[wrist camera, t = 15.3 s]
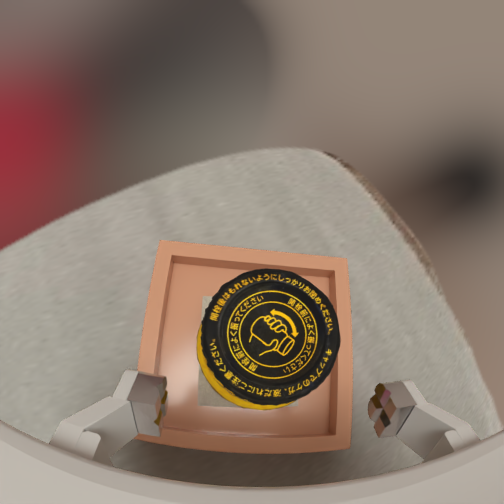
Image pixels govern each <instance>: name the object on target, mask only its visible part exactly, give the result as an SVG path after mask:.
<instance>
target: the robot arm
mask: <svg viewBox="0 0 504 504" xmlns="http://www.w3.org/2000/svg"><path fill="white" fill-rule="evenodd" d="M166 386H167V378H166V376H162V375H157V374H151V373H146V372H141V371H135V370H131V369H127V370H125V371H124V373H123V375H122V378H121V380H120V382H119V384H118V386H117V388H116V390H115V392H114V394H113V396H112V397H110V396H108V397H106V398H104V399H102V400H100V401H99V402H97V403H95V404H93V405H91V406H89V407H87V408H85V409H83V410H82V411H80V412H78V413H76V414H74V415H72V416H70V417H68V418H66V419H64V420H62V421H61V423H60V424H59V426H58V428H57V430H56V431H55V433H54V435H53V437H52V439H51V441H50V442H49V444H48V443H45V442H43V441H41V440H39V439H37V438H34V437H32V436H30V435H28V434H26V433H24V432H22V431H20V430H18V429H16V428H14V427H12V426H11V425H9V424H7V423H5V422H3V421H1V420H0V504H504V430H502V431H500V432H498V433H496V434H494V435H492V436H490V437H488V438H486V439H483V440H480V439H479V438H478V436H477V435H476V433H475V432H474V430H473V429H472V427H471V426H470V424H469V423H467V422H465V421H463V420H461V419H459V418H457V417H455V416H454V415H452V414H450V413H448V412H446V411H444V410H442V409H441V408H439V407H437V406H435V405H433V404H431V403H427V402H426V400H425V399H424V397H423V396H422V394H421V393H420V392H419V390H418V389H417V387H416V386H415V384H414V383H413V381H411V380H410V379H409V380H402V381H395V382H386V383H379V384H378V385H377V386H376V388H375V393H376V394H375V395H374V396H373V397H372V398H371V399H370V401H369V404H368V415H369V417H370V419H371V420H372V421H374V422H375V425H374V429H375V431H376V433H377V435H378V437H379V438H383V437H390V436H396V437H397V438H399V439H400V440H401V441H402V442H403V443H405V444H406V445H407V446H408V447H409V448H411V449H412V450H413V451H414V452H416V453H417V454H418V455H419V456H421V457H422V458H423V459H424V460H423V461H422V463H421V464H418V465H414V466H411V467H407V468H403V469H400V470H396V471H392V472H388V473H383V474H379V475H374V476H369V477H364V478H359V479H353V480H347V481H340V482H333V483H325V484H315V485H304V486H287V487H237V486H220V485H208V484H199V483H191V482H183V481H177V480H170V479H165V478H159V477H154V476H149V475H144V474H140V473H136V472H131V471H127V470H123V469H120V468H116V467H114V466H113V464H112V462H111V460H110V457H111V456H112V455H114V454H115V453H116V452H117V451H119V450H120V449H121V448H122V447H123V446H125V445H126V444H127V443H128V442H129V441H131V440H132V439H133V438H134V437H136V436H137V435H138V433H140V434H146V435H151V436H157V437H161V433H162V429H163V425H164V422H163V417H164V416H166V413H167V408H168V392H167V391H166Z"/></svg>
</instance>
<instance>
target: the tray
mask: <svg viewBox="0 0 504 504" xmlns="http://www.w3.org/2000/svg"><path fill="white" fill-rule="evenodd" d="M265 268H268V269H281V270H286V271H291V272H294V273H296V274H298V275H299V276H301V277H303V278H304V279H306V280H308V281H309V282H311V283H312V284H313V285H314V286H316V287H317V288H318V289H319V290H321V291H322V292H323V293H324V294H325V295H326V296H327V297H328V299H329V300H330V302H331V303H332V305H333V307H334V309H335V312H336V314H337V317H338V322H339V331H340V337H341V343H340V348H339V351H338V355H337V358H336V361H335V363H334V366H333V368H332V370H331V372H330V374H329V376H328V377H327V378H326V379H325V380H324V382H323V383H322V384H321V385H320V386H319V387H318V388H317V389H315V390H313V391H311V392H310V393H309V394H308V395H307V396H304V397H302V398H300V399H298V406H293V407H281V408H277V409H272V410H265V411H263V410H255V409H249V408H242V407H214V406H198V378H199V362H198V360H197V349H196V347H197V338H196V337H197V334H198V330H199V327H200V325H201V315H202V299H203V296H212V297H213V296H214V295H215V294H216V293H217V292H218V291H219V289H220V287H221V286H222V285H223V284H225V283H226V282H229V281H230V280H232V279H234V278H235V277H237V276H238V275H240V274H242V273H244V272H248V271H252V270H255V269H265ZM137 371H141V372H146V373H151V374H157V375H162V376H166V378H167V386H166V391H167V392H168V408H167V413H166V416H164V417H163V422H164V425H163V429H162V433H161V437H157V436H151V435H146V434H140V433H138V435H137V436H136V437H134V438H133V439H137V440H142V441H147V442H152V443H157V444H163V445H169V446H175V447H182V448H189V449H198V450H207V451H218V452H232V453H255V454H285V453H309V452H322V451H333V450H342V449H350V443H351V424H352V392H353V357H352V323H351V303H350V288H349V275H348V264H347V258H337V257H327V256H317V255H307V254H297V253H287V252H277V251H267V250H257V249H247V248H236V247H226V246H216V245H206V244H196V243H185V242H175V241H165V240H160V242H159V246H158V251H157V255H156V260H155V265H154V270H153V275H152V280H151V285H150V290H149V296H148V301H147V307H146V313H145V319H144V325H143V332H142V339H141V346H140V353H139V361H138V369H137Z"/></svg>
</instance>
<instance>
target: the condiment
mask: <svg viewBox="0 0 504 504" xmlns="http://www.w3.org/2000/svg"><path fill="white" fill-rule="evenodd" d="M196 338H197V347H196V349H197V360H198V362H199V378H198V406H214V407H242V408H249V409H255V410H263V411H265V410H272V409H277V408H281V407H293V406H298V399H300V398H302V397H304V396H307V395H308V394H309V393H310V392H311V391H313V390H315V389H317V388H318V387H319V386H320V385H321V384H322V383H323V382H324V380H325V379H326V378H327V377H328V376H329V374H330V372H331V370H332V368H333V366H334V363H335V361H336V358H337V355H338V351H339V348H340V343H341V337H340V331H339V322H338V317H337V314H336V312H335V309H334V307H333V305H332V303H331V302H330V300H329V299H328V297H327V296H326V295H325V294H324V293H323V292H322V291H321V290H319V289H318V288H317V287H316V286H314V285H313V284H312V283H311V282H309V281H308V280H306V279H304V278H303V277H301V276H299V275H298V274H296V273H294V272H291V271H286V270H281V269H268V268H265V269H255V270H252V271H248V272H244V273H242V274H240V275H238V276H237V277H235V278H234V279H232V280H230V281H229V282H226V283H225V284H223V285H222V286H221V287H220V289H219V291H218V292H217V293H216V294H215V295H214V296H213V297H212V296H203V299H202V315H201V325H200V327H199V330H198V334H197V337H196Z"/></svg>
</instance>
